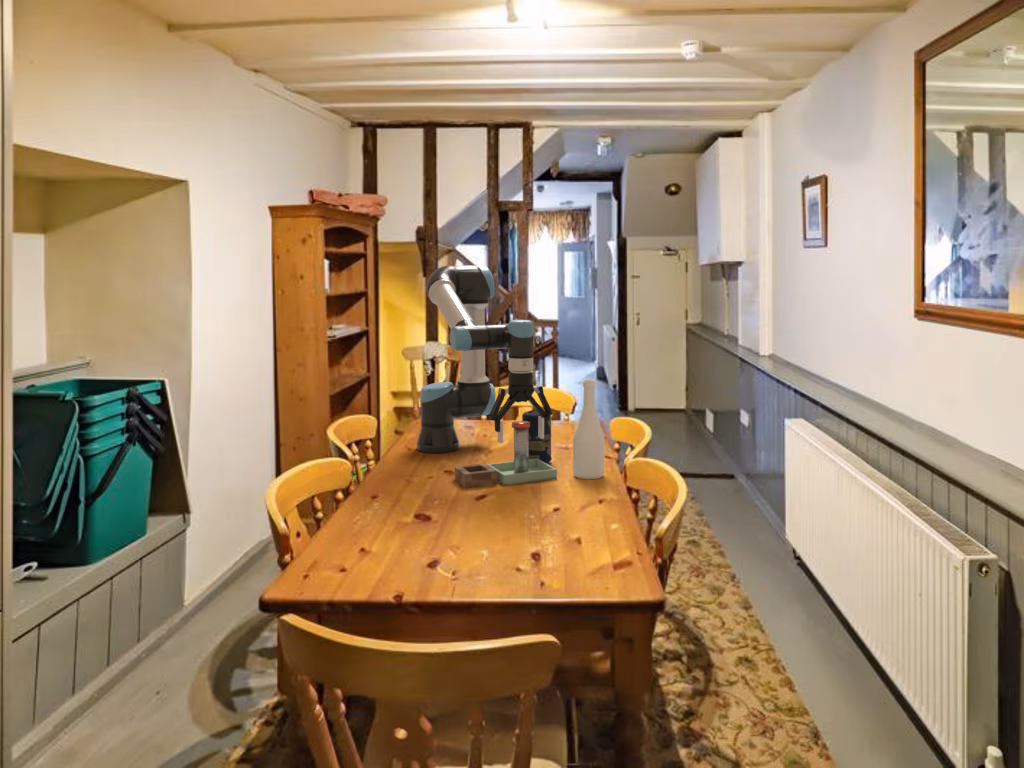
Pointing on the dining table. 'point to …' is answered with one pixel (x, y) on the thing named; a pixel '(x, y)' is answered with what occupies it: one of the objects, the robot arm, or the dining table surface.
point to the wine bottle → (588, 439)
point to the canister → (535, 444)
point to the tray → (536, 473)
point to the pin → (521, 446)
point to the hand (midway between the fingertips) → (520, 440)
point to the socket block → (475, 475)
